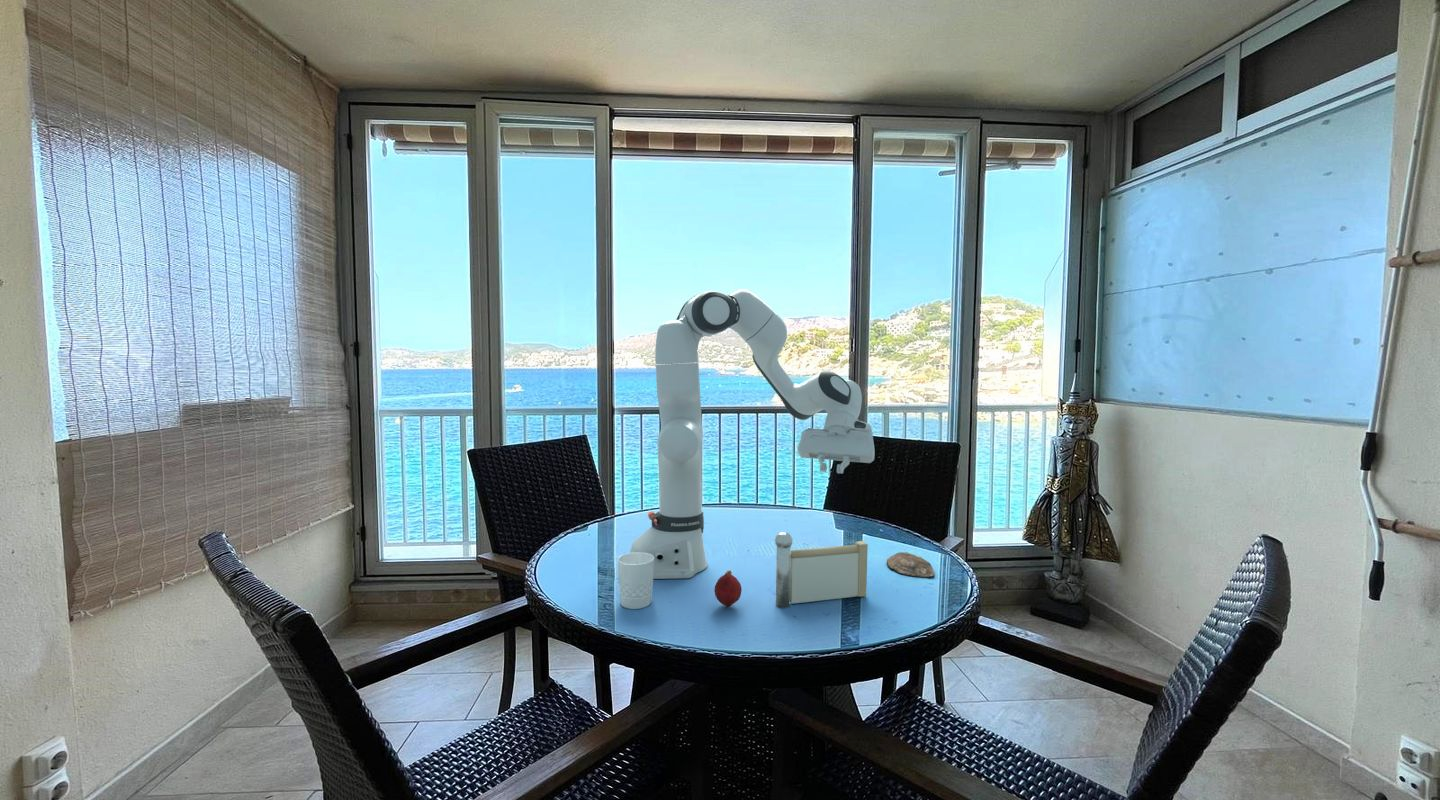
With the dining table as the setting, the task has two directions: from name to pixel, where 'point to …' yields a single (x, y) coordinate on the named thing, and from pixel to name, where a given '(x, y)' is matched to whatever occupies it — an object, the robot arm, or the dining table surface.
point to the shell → (910, 565)
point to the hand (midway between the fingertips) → (831, 471)
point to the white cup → (636, 579)
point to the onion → (727, 589)
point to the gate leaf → (828, 573)
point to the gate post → (783, 569)
